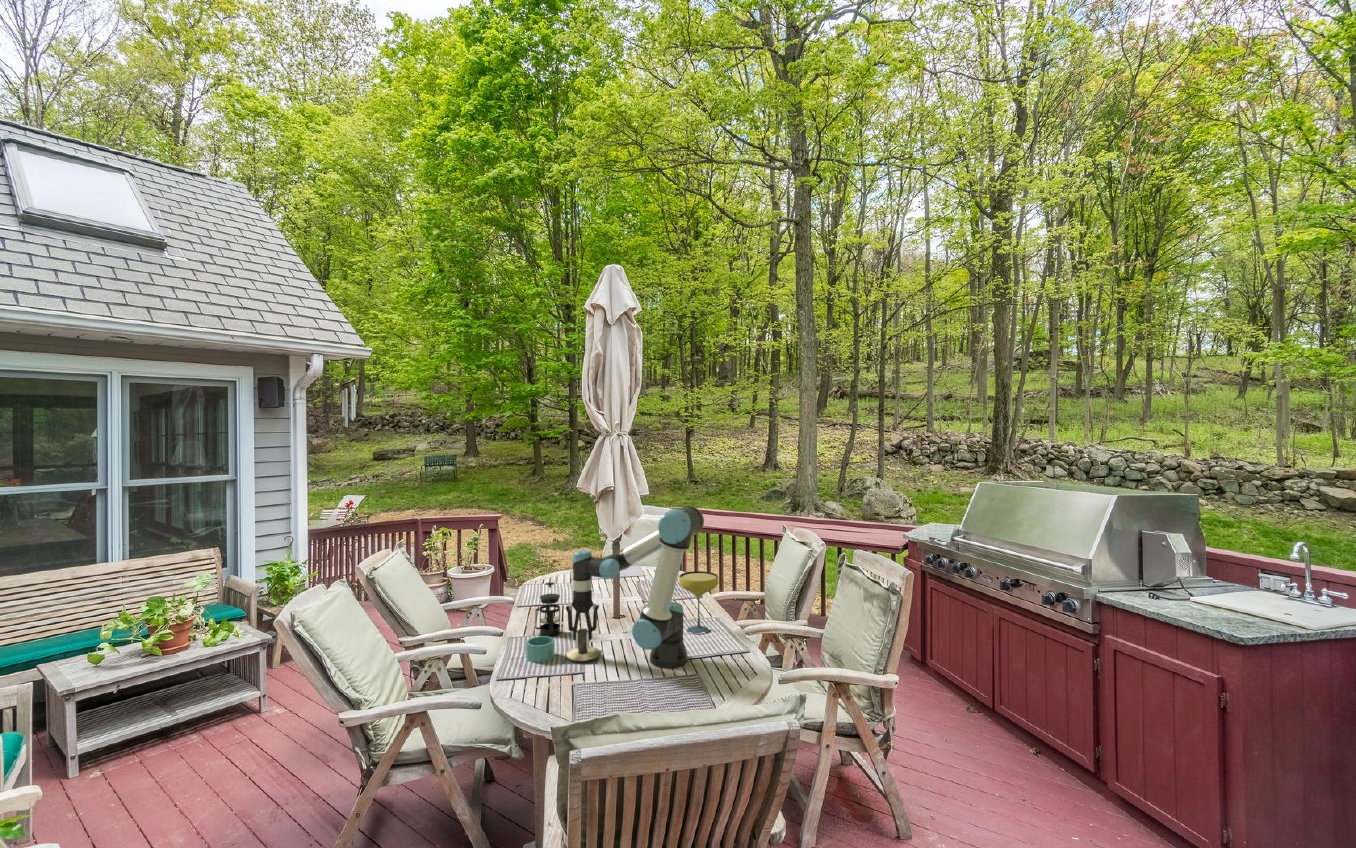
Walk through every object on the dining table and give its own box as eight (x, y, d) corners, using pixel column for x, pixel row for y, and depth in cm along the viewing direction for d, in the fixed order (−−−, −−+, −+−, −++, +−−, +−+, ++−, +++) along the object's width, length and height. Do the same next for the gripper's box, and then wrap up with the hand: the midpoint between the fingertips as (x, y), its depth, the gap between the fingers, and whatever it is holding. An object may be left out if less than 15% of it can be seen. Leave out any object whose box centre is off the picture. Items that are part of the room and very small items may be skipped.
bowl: (556, 653, 241) (556, 636, 241) (550, 664, 230) (550, 646, 230) (530, 653, 241) (530, 636, 241) (523, 664, 230) (523, 646, 230)
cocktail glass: (674, 635, 262) (674, 579, 262) (684, 622, 279) (684, 570, 280) (713, 639, 257) (713, 582, 257) (721, 625, 275) (721, 572, 275)
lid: (601, 648, 242) (601, 624, 242) (596, 661, 229) (596, 635, 229) (570, 648, 242) (569, 624, 242) (563, 661, 229) (563, 635, 229)
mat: (601, 652, 243) (601, 650, 243) (597, 665, 229) (597, 664, 229) (568, 651, 243) (568, 650, 243) (561, 665, 229) (561, 664, 229)
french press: (560, 629, 270) (560, 579, 270) (563, 635, 261) (563, 584, 262) (534, 632, 266) (534, 581, 266) (536, 639, 257) (536, 587, 257)
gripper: (604, 586, 239) (604, 644, 239) (563, 587, 240) (564, 644, 239) (601, 592, 232) (602, 651, 232) (559, 592, 232) (560, 651, 232)
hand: (582, 647), depth 236 cm, fingers closed on lid, 3 cm apart
